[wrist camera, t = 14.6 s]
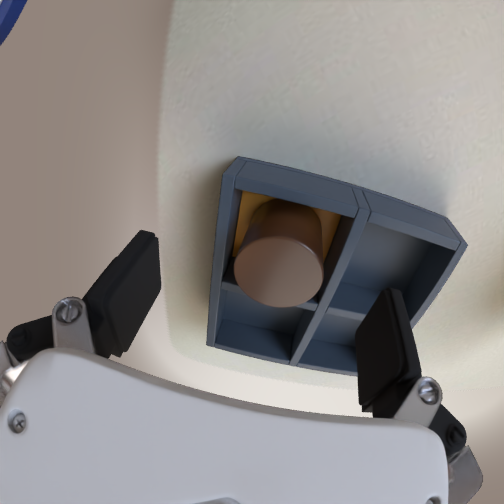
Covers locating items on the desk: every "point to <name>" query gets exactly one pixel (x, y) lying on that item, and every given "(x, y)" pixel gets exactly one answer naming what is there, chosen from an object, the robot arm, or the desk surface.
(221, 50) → the desk surface
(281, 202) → the cylinder
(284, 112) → the desk surface
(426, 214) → the grid
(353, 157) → the desk surface
